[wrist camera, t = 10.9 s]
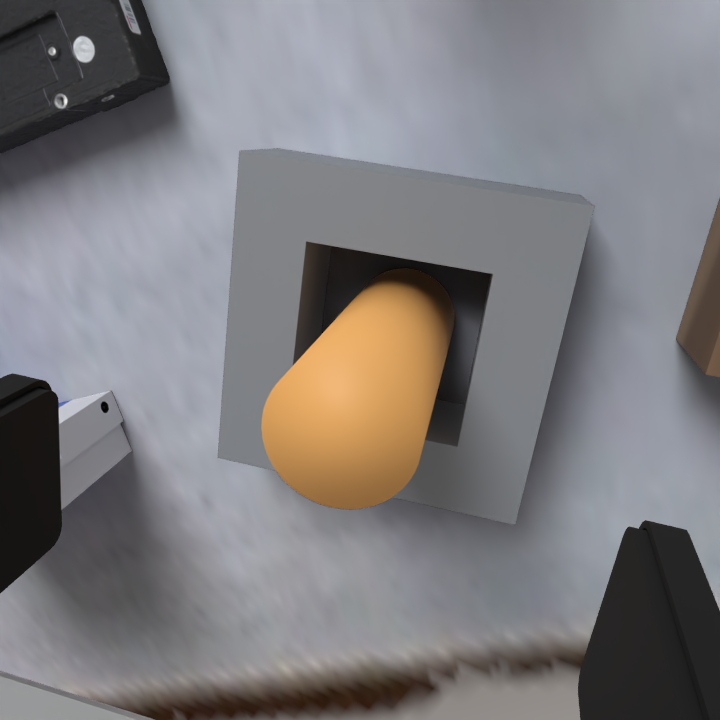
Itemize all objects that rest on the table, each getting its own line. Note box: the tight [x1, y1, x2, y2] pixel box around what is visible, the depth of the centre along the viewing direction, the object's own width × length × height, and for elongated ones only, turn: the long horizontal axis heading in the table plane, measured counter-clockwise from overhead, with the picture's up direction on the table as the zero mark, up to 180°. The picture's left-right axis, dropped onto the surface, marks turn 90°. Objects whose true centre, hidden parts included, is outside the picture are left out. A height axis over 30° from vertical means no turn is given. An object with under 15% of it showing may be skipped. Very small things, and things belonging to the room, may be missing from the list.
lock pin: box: [261, 268, 455, 510], centre depth 19 cm, size 4×4×10 cm
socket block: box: [218, 148, 595, 525], centre depth 22 cm, size 10×10×4 cm
